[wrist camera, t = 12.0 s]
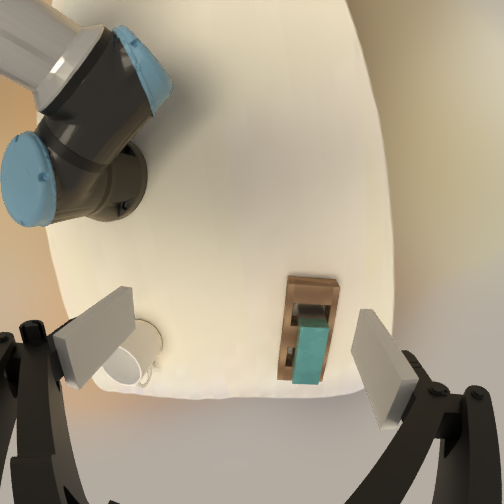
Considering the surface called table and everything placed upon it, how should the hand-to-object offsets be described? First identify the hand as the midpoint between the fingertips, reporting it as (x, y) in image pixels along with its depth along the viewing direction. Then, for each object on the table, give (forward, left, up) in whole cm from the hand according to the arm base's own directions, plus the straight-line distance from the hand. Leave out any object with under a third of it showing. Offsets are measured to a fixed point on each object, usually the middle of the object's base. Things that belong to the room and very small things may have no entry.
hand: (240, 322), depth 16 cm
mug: (-22, -24, -32) cm, 45 cm away
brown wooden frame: (+8, -16, -31) cm, 36 cm away
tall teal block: (+8, -16, -32) cm, 36 cm away
